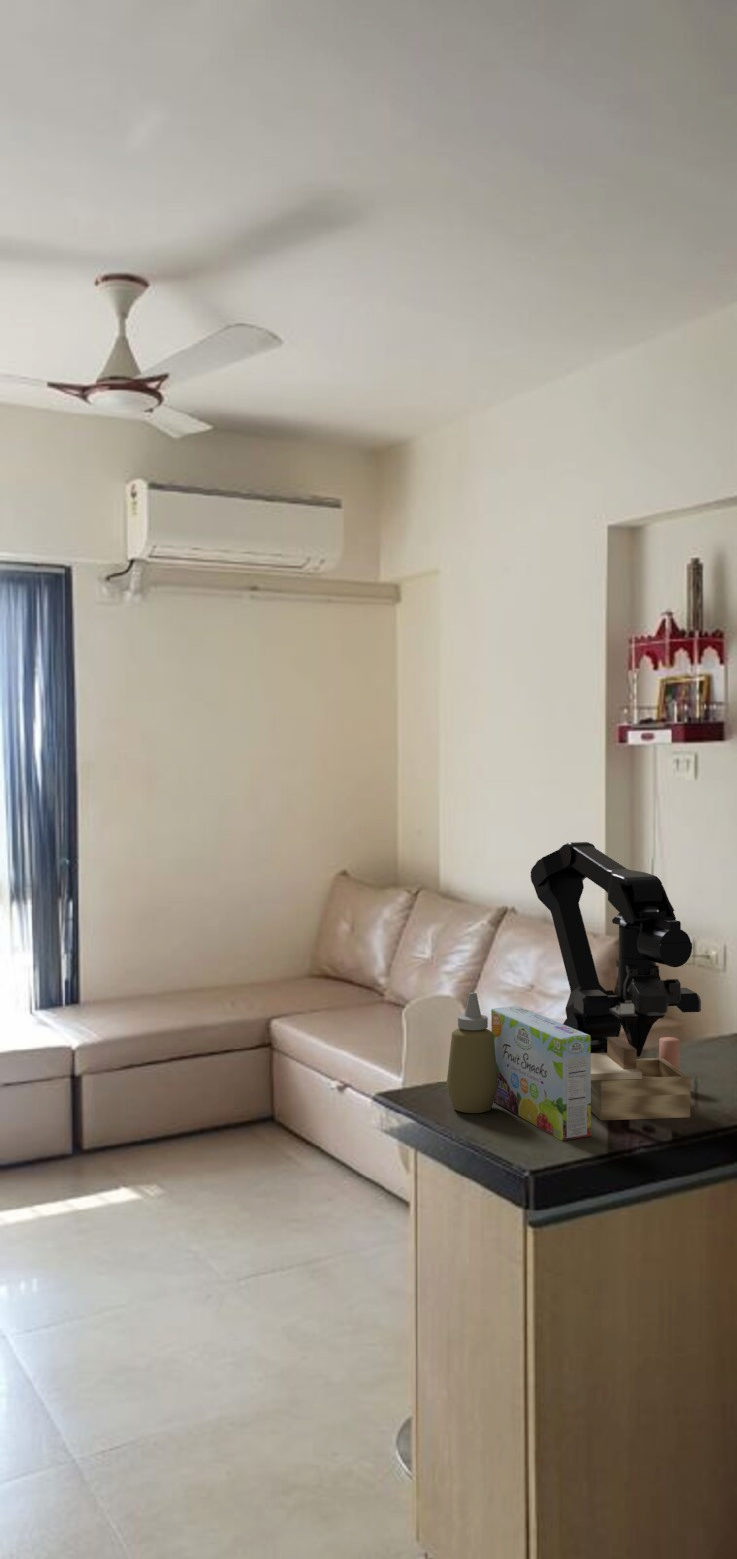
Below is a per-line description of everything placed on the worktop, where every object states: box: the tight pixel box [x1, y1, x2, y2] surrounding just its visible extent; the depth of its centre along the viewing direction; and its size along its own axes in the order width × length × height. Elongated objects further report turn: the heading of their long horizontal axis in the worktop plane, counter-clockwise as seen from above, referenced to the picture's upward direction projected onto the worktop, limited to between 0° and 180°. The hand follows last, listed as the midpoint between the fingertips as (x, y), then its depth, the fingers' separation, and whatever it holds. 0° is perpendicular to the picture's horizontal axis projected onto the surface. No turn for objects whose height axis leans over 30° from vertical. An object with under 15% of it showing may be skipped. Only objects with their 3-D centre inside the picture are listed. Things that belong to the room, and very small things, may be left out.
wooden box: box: [591, 1057, 692, 1121], centre depth 196 cm, size 14×12×6 cm
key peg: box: [658, 1036, 680, 1070], centre depth 207 cm, size 3×3×8 cm
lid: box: [591, 1036, 642, 1080], centre depth 195 cm, size 9×12×4 cm
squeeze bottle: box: [446, 992, 498, 1114], centre depth 195 cm, size 8×8×18 cm
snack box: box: [490, 1005, 592, 1142], centre depth 190 cm, size 21×6×15 cm, turn 23°
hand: (636, 1056), depth 196 cm, fingers closed
